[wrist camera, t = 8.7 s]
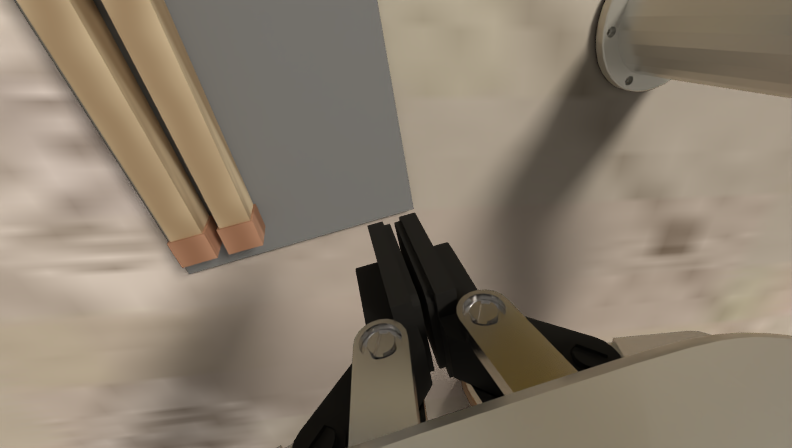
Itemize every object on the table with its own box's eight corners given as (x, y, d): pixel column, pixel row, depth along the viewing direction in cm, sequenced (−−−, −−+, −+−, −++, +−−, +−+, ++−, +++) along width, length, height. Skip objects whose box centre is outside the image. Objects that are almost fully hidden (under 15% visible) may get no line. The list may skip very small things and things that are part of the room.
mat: (321, -295, 20) (323, -309, 19) (410, 204, 36) (413, 208, 36) (-133, -250, 17) (-155, -264, 16) (191, 267, 34) (189, 274, 33)
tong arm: (68, -229, 18) (24, -278, 15) (265, 226, 32) (262, 247, 29) (-57, -217, 17) (-130, -266, 14) (202, 243, 31) (193, 266, 29)
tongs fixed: (43, -217, 18) (-5, -264, 15) (253, 227, 32) (249, 248, 29) (-76, -203, 17) (-152, -249, 14) (192, 244, 32) (182, 268, 29)
